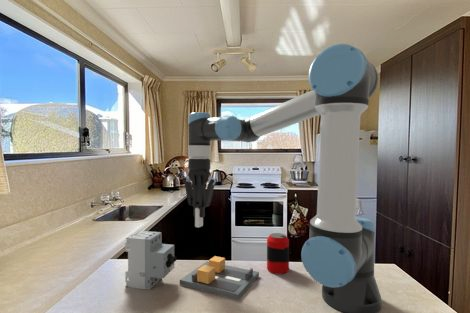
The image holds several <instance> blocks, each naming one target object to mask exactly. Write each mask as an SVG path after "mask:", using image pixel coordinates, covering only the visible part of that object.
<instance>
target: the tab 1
mask: <svg viewBox="0 0 470 313" xmlns="http://www.w3.org/2000/svg"><path fill="white" fill-rule="evenodd" d="M214 279H215V267H211V266H207V265H204V266H202V267H201V268H199V269H198V270H197V281H198V282H202V283H206V284H209V283H210V282H212V281H213V280H214Z"/></svg>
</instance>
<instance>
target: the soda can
mask: <svg viewBox="0 0 470 313" xmlns="http://www.w3.org/2000/svg"><path fill="white" fill-rule="evenodd" d="M266 269H267V270H268V272H269V273H272V274H274V275H275V274H276V275H283V274H286V273H288V272H289V271H290V239H289V238H288V237H287V234H285V233H281V232H274V233H270V234H269V236H268V237H267V239H266Z"/></svg>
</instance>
